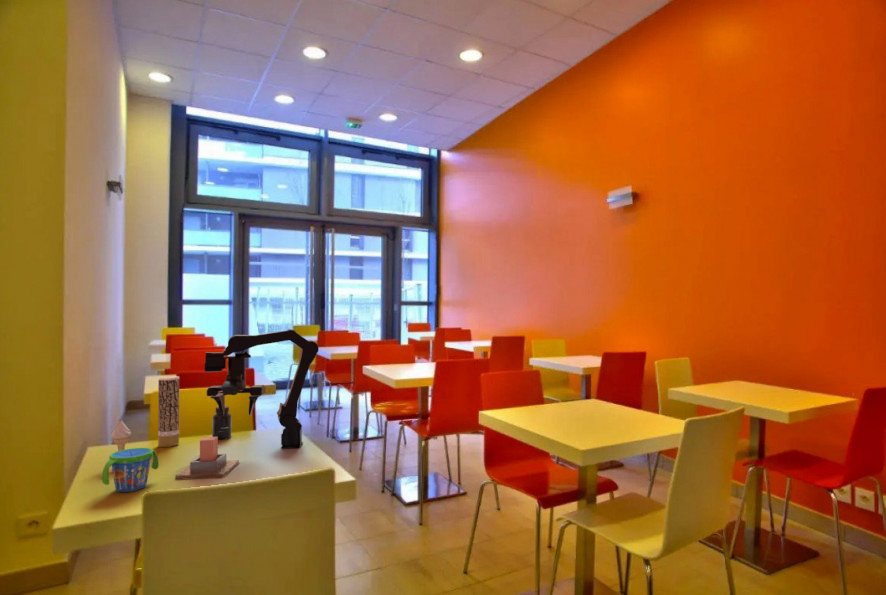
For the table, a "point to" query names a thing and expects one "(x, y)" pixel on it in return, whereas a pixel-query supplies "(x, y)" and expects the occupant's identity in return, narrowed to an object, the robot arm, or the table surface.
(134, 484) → the snack cup
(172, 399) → the paper tube
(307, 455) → the table surface
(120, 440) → the ice cream cone
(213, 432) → the supplement bottle
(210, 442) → the red post
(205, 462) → the square socket base
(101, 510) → the table surface
